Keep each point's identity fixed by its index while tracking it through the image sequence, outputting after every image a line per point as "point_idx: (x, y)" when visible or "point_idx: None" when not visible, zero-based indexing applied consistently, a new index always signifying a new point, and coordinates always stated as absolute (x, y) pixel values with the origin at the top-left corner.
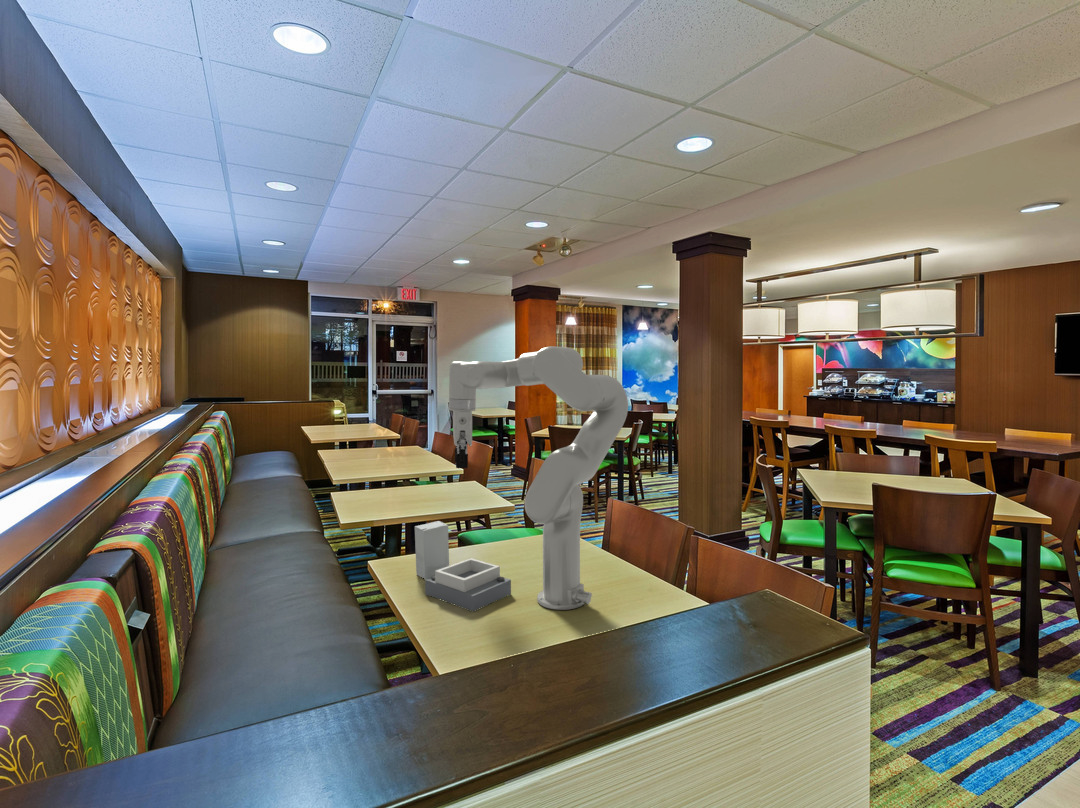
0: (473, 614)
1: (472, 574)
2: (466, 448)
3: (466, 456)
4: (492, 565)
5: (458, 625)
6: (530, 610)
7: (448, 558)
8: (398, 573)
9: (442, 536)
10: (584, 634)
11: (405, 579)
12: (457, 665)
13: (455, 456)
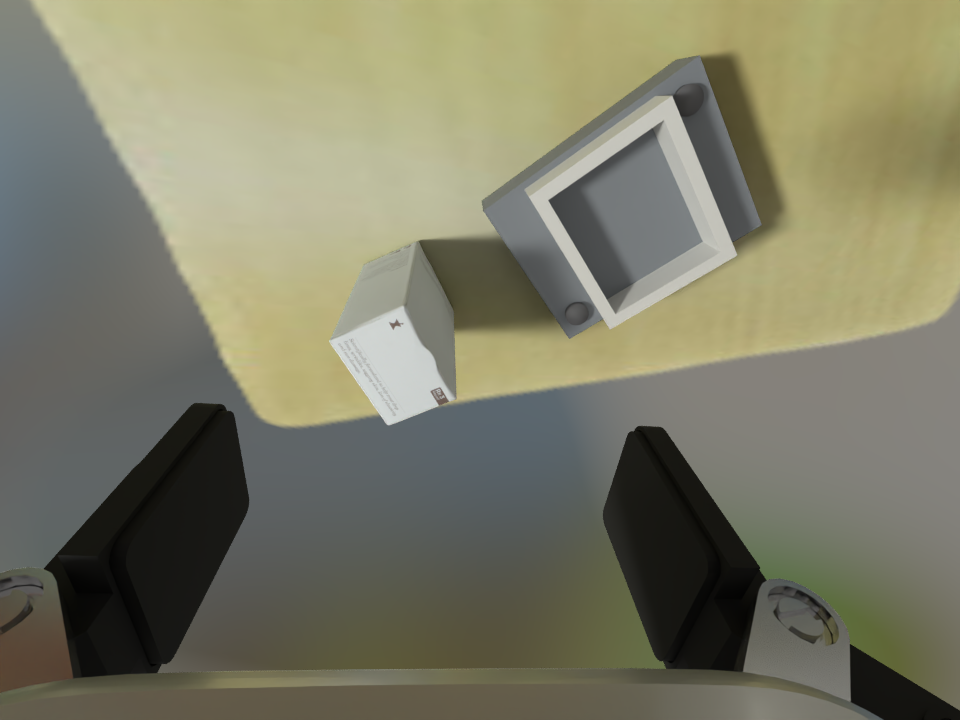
0: None
1: (584, 194)
2: (844, 694)
3: (730, 548)
4: (648, 125)
5: (787, 262)
6: (830, 23)
7: (416, 258)
8: None
9: (422, 312)
10: None
11: None
12: (956, 288)
13: (219, 557)
